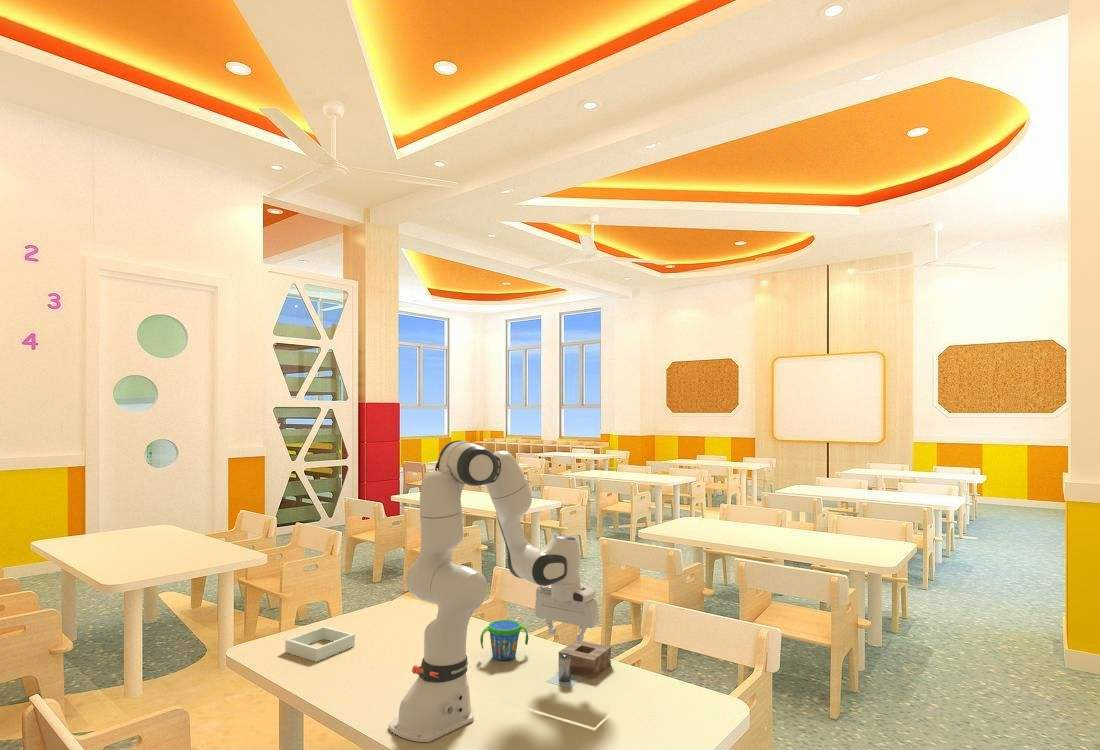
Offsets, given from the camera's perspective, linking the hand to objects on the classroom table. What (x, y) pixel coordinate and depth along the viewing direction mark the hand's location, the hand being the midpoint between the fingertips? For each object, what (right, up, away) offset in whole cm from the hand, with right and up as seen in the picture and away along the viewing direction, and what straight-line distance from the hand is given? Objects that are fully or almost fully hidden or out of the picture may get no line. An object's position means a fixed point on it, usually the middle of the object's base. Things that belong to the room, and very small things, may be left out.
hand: (566, 637), depth 186 cm
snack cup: (-20, -14, +18) cm, 30 cm away
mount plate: (-1, -13, -1) cm, 13 cm away
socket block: (+6, -13, +8) cm, 17 cm away
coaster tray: (-82, -14, +23) cm, 86 cm away
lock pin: (0, -12, -1) cm, 12 cm away
